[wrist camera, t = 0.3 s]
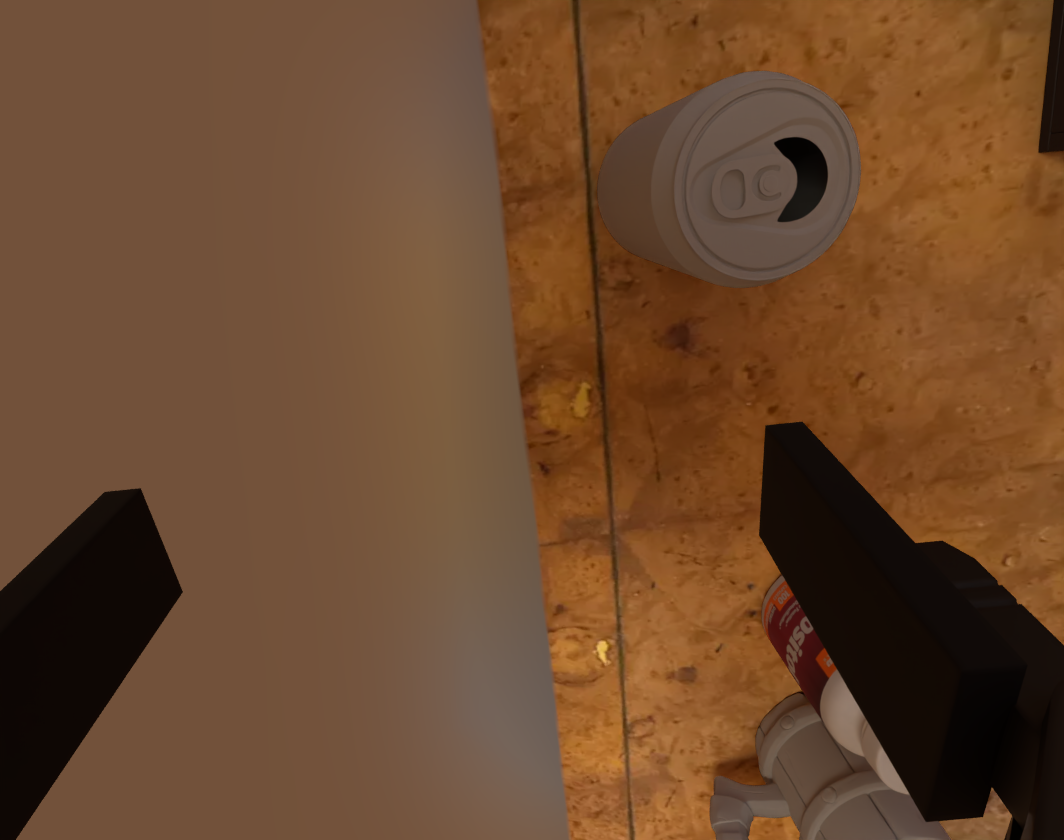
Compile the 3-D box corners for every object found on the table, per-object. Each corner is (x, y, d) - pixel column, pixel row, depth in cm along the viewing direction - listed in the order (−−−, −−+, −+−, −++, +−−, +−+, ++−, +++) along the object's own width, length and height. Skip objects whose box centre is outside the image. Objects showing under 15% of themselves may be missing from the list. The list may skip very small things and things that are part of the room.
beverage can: (734, 246, 32) (876, 273, 21) (602, 270, 32) (673, 310, 20) (724, 102, 30) (877, 43, 19) (583, 127, 30) (651, 83, 18)
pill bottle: (787, 544, 37) (907, 677, 27) (879, 574, 39) (1029, 712, 28) (739, 633, 39) (835, 792, 29) (828, 659, 40) (952, 821, 30)
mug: (877, 759, 43) (1020, 960, 32) (702, 815, 43) (783, 1034, 32) (859, 668, 41) (1007, 850, 29) (673, 727, 41) (750, 931, 30)
